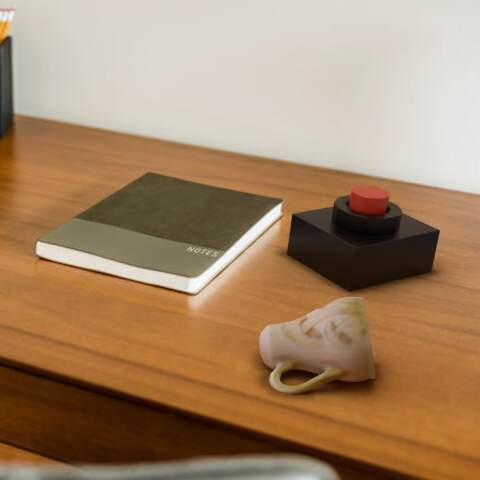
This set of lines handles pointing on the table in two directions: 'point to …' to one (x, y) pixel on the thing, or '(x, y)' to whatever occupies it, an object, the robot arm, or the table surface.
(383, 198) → the button
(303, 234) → the console
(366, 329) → the mug
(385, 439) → the table surface
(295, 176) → the table surface
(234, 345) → the table surface
